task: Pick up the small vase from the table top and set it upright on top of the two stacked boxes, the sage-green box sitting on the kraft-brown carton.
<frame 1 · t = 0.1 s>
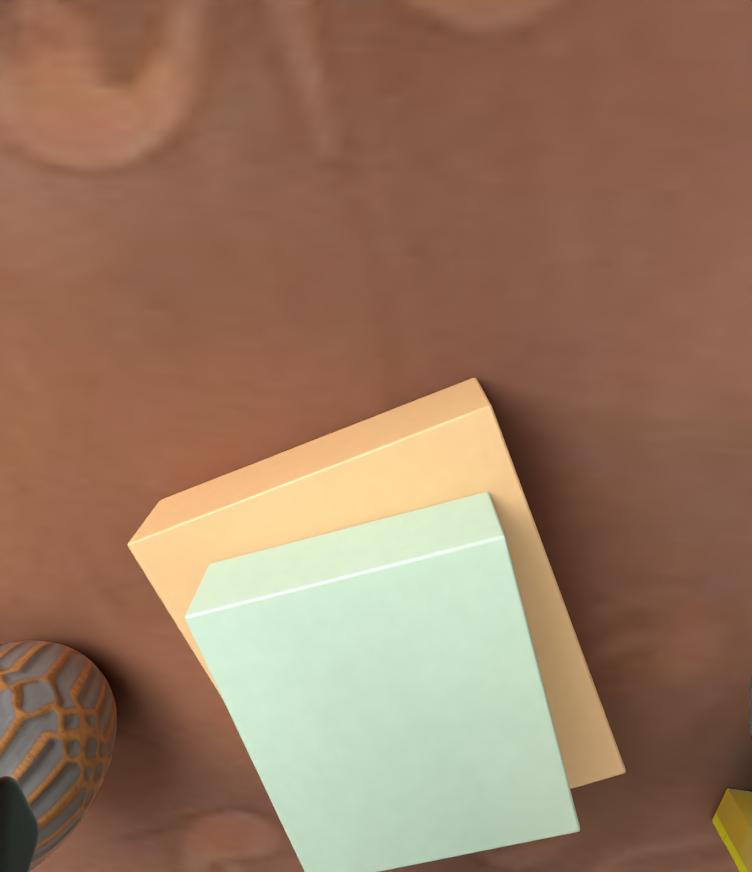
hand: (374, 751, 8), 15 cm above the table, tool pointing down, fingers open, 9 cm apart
box stack: (392, 610, 24), on the table
vase: (57, 679, 26), on the table
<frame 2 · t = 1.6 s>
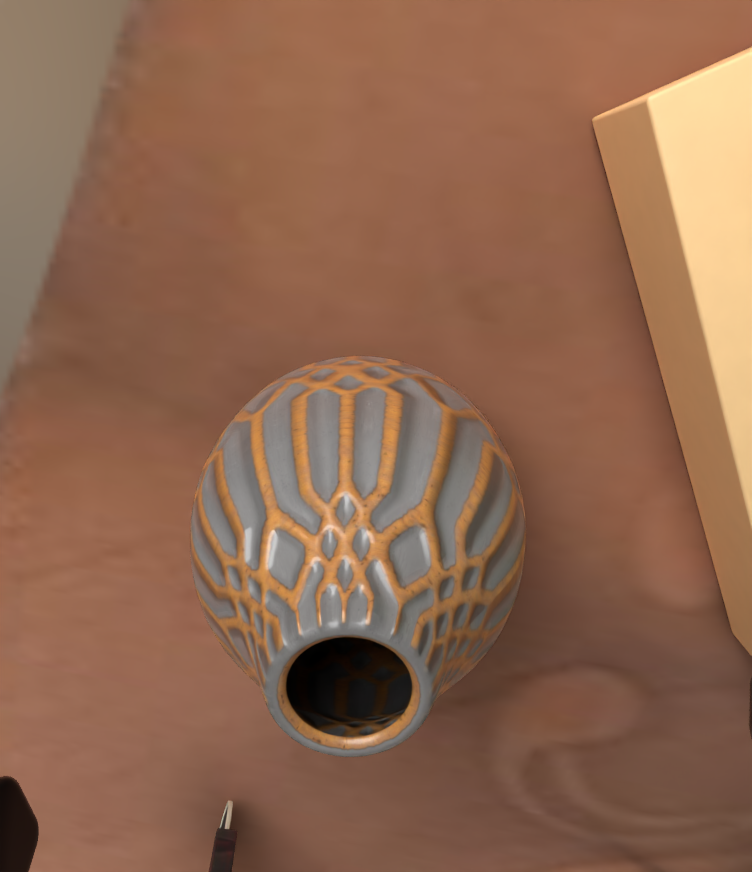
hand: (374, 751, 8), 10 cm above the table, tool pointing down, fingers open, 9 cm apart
vase: (363, 455, 17), on the table
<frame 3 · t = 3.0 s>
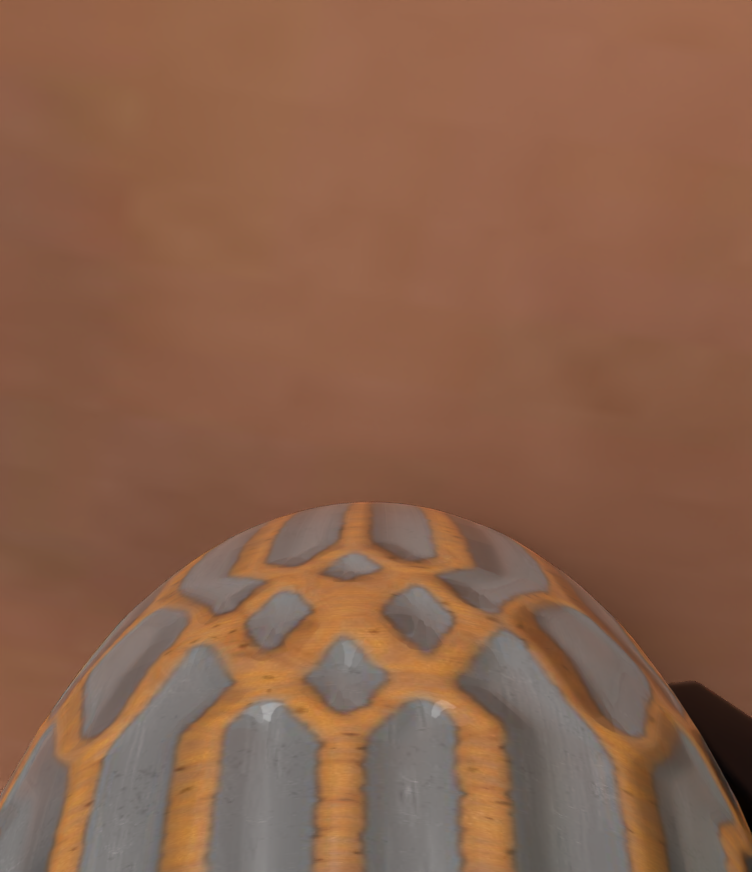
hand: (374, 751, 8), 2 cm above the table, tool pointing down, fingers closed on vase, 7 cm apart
vase: (373, 634, 10), on the table, touching gripper
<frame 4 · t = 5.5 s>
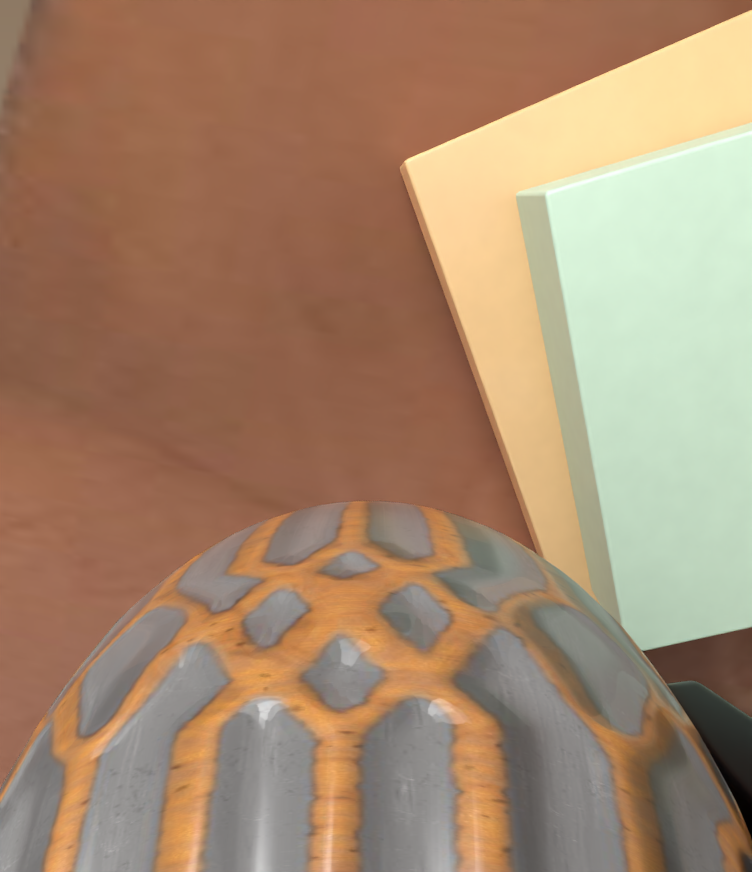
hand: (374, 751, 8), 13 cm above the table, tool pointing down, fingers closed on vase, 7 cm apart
box stack: (679, 340, 19), on the table
vase: (372, 634, 10), point 11 cm above the table, touching gripper
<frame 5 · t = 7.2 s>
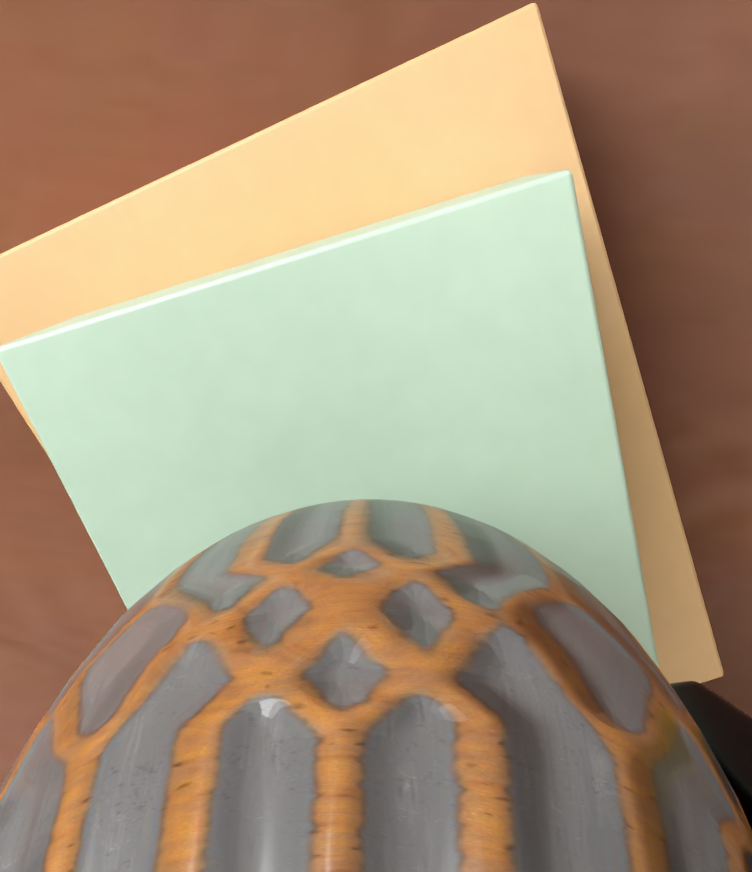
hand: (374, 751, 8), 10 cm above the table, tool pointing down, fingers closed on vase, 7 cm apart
box stack: (376, 448, 17), on the table
vase: (373, 633, 10), point 7 cm above the table, touching gripper
when the fingers open (8 cm above the table, at t = 8.4 s): vase stays where it is, resting on box stack.
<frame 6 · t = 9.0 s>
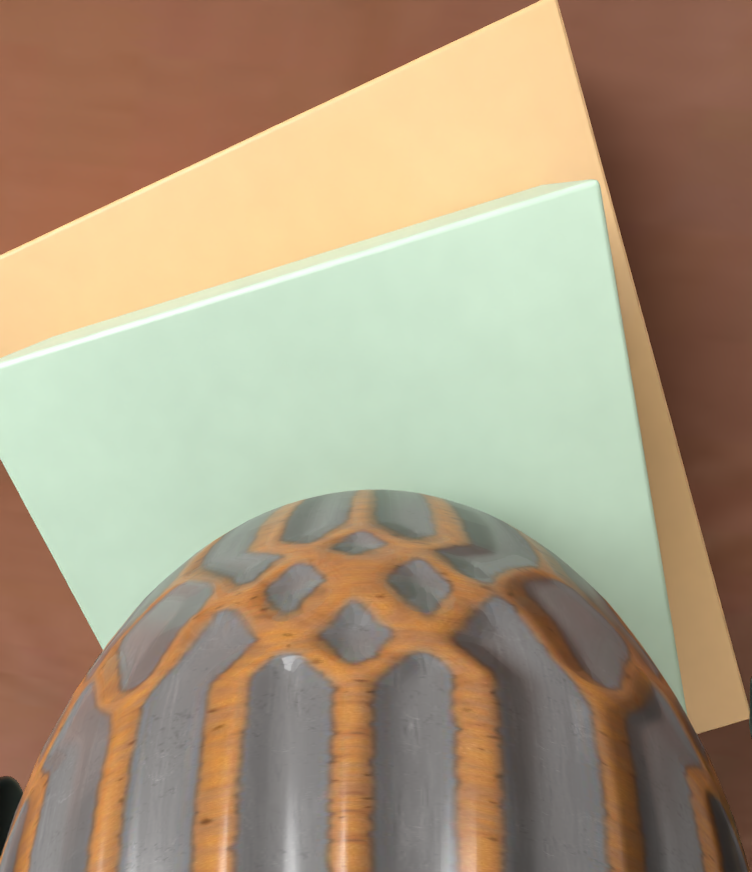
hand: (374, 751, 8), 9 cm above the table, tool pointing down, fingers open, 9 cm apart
box stack: (379, 471, 16), on the table
vase: (376, 618, 10), point 6 cm above the table, touching box stack
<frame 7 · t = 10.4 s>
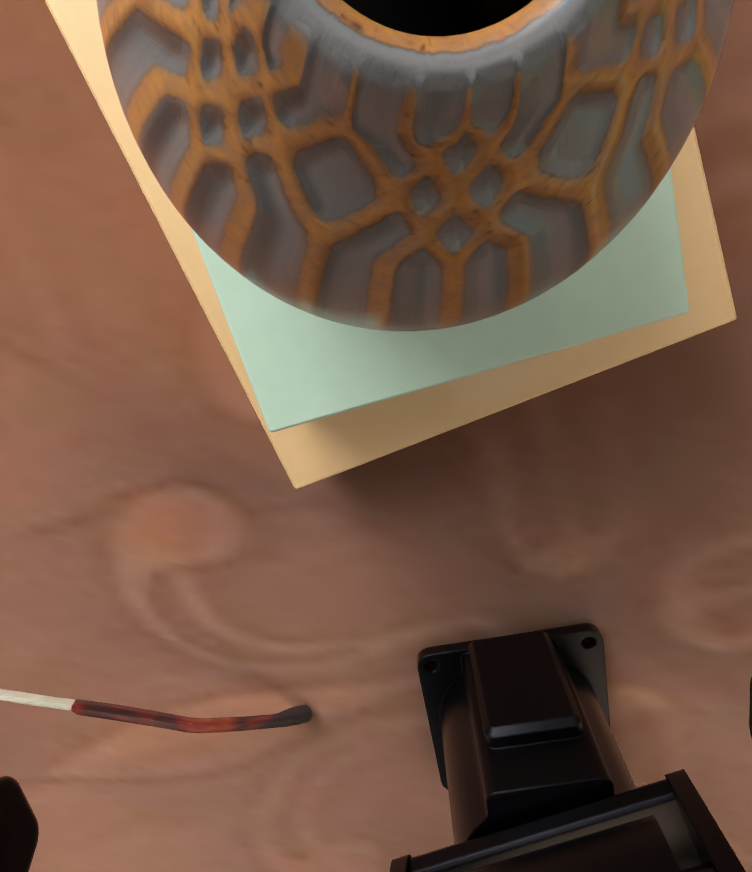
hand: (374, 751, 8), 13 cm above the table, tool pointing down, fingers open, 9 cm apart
box stack: (392, 126, 17), on the table
sunglasses: (84, 761, 25), on the table
vase: (397, 96, 12), point 6 cm above the table, touching box stack
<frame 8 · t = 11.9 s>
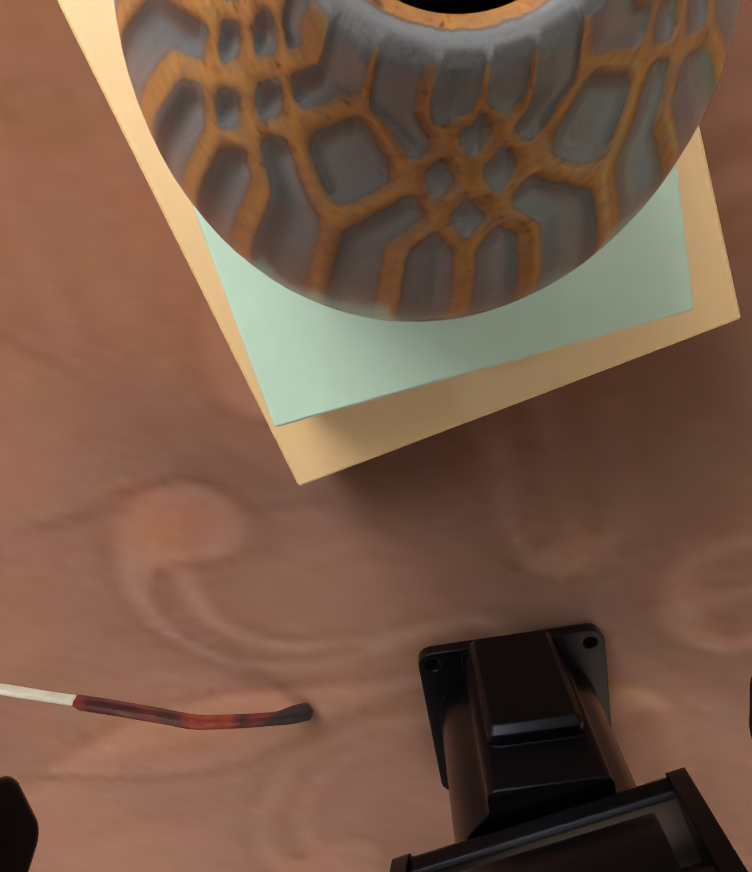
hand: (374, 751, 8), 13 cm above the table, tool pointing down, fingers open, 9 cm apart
box stack: (398, 124, 17), on the table
sunglasses: (84, 759, 25), on the table
vase: (405, 92, 12), point 6 cm above the table, touching box stack
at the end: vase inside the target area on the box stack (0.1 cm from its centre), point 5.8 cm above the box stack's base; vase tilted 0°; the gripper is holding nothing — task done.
